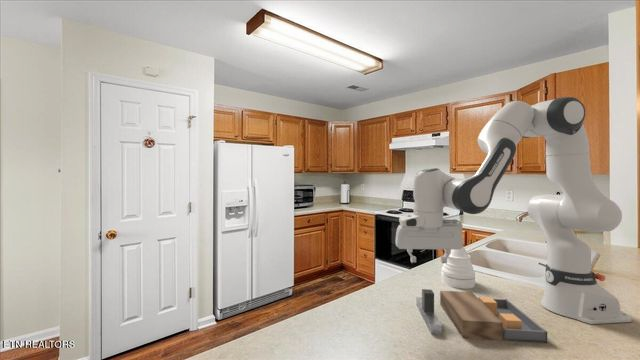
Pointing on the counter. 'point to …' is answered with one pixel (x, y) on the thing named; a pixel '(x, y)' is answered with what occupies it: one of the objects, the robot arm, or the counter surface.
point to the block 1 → (489, 304)
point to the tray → (529, 327)
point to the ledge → (471, 316)
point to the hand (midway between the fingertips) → (428, 262)
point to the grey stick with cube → (429, 311)
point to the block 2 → (510, 321)
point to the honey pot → (458, 270)
